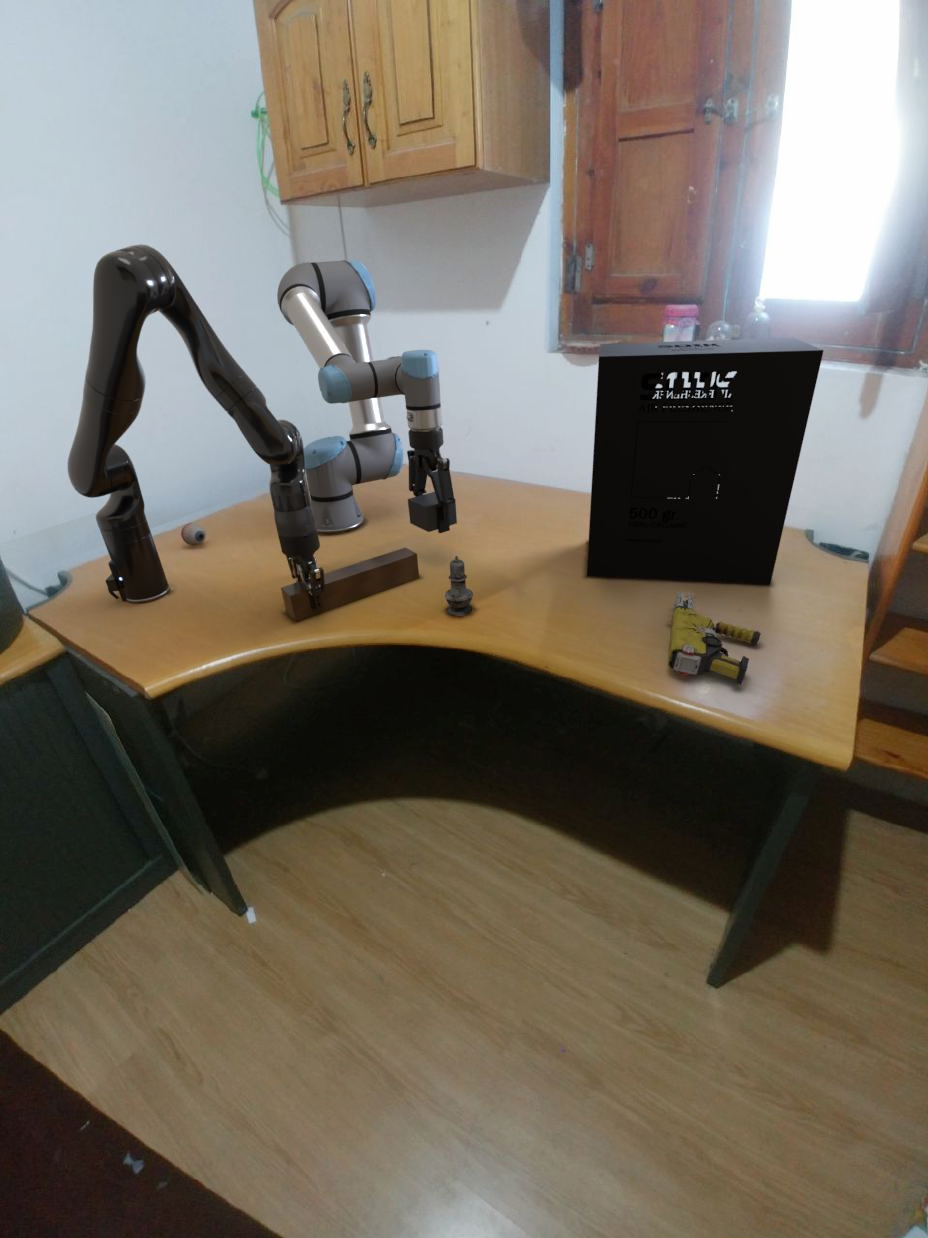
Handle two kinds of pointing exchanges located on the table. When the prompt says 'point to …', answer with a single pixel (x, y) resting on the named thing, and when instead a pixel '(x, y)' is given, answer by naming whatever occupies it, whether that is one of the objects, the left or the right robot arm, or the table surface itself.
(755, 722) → the table surface
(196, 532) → the eyeball
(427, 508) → the cap block
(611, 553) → the cardboard box
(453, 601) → the salt shaker
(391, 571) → the dark wooden beam
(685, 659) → the toy gun
